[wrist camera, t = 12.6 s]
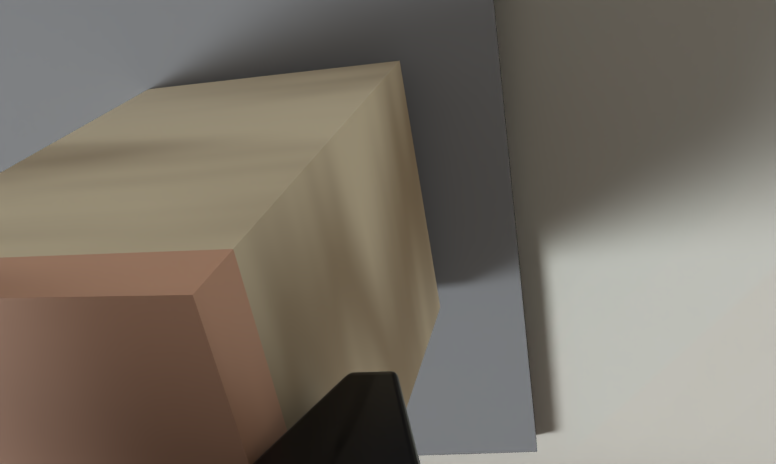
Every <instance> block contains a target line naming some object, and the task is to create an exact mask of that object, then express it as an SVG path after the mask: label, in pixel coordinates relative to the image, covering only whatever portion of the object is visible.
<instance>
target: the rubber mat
mask: <svg viewBox="0 0 776 464" xmlns="http://www.w3.org/2000/svg"><path fill="white" fill-rule="evenodd" d="M392 61H400V66H401V72H402V78H403V84H404V90H405V96H406V102H407V108H408V114H409V120H410V126H411V132H412V139H413V145H414V151H415V157H416V163H417V169H418V175H419V181H420V187H421V193H422V199H423V205H424V211H425V217H426V223H427V229H428V235H429V241H430V247H431V254H432V260H433V266H434V272H435V278H436V284H437V290H438V296H439V302H440V310H439V313H438V316H437V319H436V322H435V325H434V328H433V331H432V333H431V336H430V339H429V342H428V345H427V348H426V351H425V354H424V357H423V360H422V363H421V366H420V369H419V372H418V375H417V378H416V381H415V384H414V387H413V390H412V393H411V396H410V399H409V402H408V405H407V408H406V409H407V413H408V417H409V421H410V425H411V429H412V433H413V437H414V441H415V445H416V449H417V453H418V455H448V454H480V453H512V452H537V442H536V430H535V420H534V410H533V400H532V389H531V379H530V369H529V359H528V348H527V338H526V328H525V318H524V307H523V297H522V287H521V277H520V267H519V256H518V246H517V236H516V226H515V215H514V205H513V195H512V185H511V174H510V164H509V154H508V144H507V133H506V123H505V113H504V103H503V93H502V82H501V72H500V62H499V52H498V41H497V31H496V21H495V11H494V0H0V173H1V172H2V171H4V170H6V169H8V168H10V167H11V166H13V165H15V164H17V163H18V162H20V161H22V160H24V159H25V158H27V157H29V156H31V155H33V154H34V153H36V152H38V151H40V150H41V149H43V148H45V147H47V146H49V145H50V144H52V143H54V142H56V141H57V140H59V139H61V138H63V137H65V136H66V135H68V134H70V133H72V132H73V131H75V130H77V129H79V128H81V127H82V126H84V125H86V124H88V123H89V122H91V121H93V120H95V119H96V118H98V117H100V116H102V115H104V114H105V113H107V112H109V111H111V110H112V109H114V108H116V107H118V106H120V105H121V104H123V103H125V102H127V101H128V100H130V99H132V98H134V97H136V96H137V95H139V94H141V93H143V92H144V91H146V90H148V89H155V88H163V87H172V86H181V85H189V84H198V83H207V82H216V81H225V80H234V79H242V78H251V77H260V76H269V75H278V74H286V73H295V72H304V71H313V70H322V69H331V68H339V67H348V66H357V65H366V64H375V63H384V62H392Z"/></svg>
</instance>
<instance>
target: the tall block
mask: <svg viewBox="0 0 776 464" xmlns="http://www.w3.org/2000/svg"><path fill="white" fill-rule="evenodd" d="M439 310H440V302H439V296H438V290H437V284H436V278H435V272H434V266H433V260H432V254H431V247H430V241H429V235H428V229H427V223H426V217H425V211H424V205H423V199H422V193H421V187H420V181H419V175H418V169H417V163H416V157H415V151H414V145H413V139H412V132H411V126H410V120H409V114H408V108H407V102H406V96H405V90H404V84H403V78H402V72H401V66H400V61H392V62H384V63H375V64H366V65H357V66H348V67H339V68H331V69H322V70H313V71H304V72H295V73H286V74H278V75H269V76H260V77H251V78H242V79H234V80H225V81H216V82H207V83H198V84H189V85H181V86H172V87H163V88H155V89H148V90H146V91H144V92H143V93H141V94H139V95H137V96H136V97H134V98H132V99H130V100H128V101H127V102H125V103H123V104H121V105H120V106H118V107H116V108H114V109H112V110H111V111H109V112H107V113H105V114H104V115H102V116H100V117H98V118H96V119H95V120H93V121H91V122H89V123H88V124H86V125H84V126H82V127H81V128H79V129H77V130H75V131H73V132H72V133H70V134H68V135H66V136H65V137H63V138H61V139H59V140H57V141H56V142H54V143H52V144H50V145H49V146H47V147H45V148H43V149H41V150H40V151H38V152H36V153H34V154H33V155H31V156H29V157H27V158H25V159H24V160H22V161H20V162H18V163H17V164H15V165H13V166H11V167H10V168H8V169H6V170H4V171H2V172H1V173H0V464H253V463H254V462H255V461H256V460H257V459H258V458H259V457H260V456H261V455H262V454H263V453H264V452H265V451H266V450H267V449H269V448H270V447H271V446H272V445H273V444H274V443H275V442H276V441H277V440H278V439H279V438H280V437H281V436H282V435H283V434H284V433H286V432H287V431H288V430H289V429H290V428H291V427H292V426H293V425H294V424H295V423H296V422H297V421H298V420H299V419H300V418H301V417H303V416H304V415H305V414H306V413H307V412H308V411H309V410H310V409H311V408H312V407H313V406H314V405H315V404H316V403H317V402H318V401H320V400H321V399H322V398H323V397H324V396H325V395H326V394H327V393H328V392H329V391H330V390H331V389H332V388H333V387H334V386H335V385H337V384H338V383H339V382H340V381H341V380H342V379H343V378H344V377H345V376H346V375H348V374H349V373H353V372H380V371H393V372H395V373H396V374H397V375H398V378H399V382H400V386H401V390H402V394H403V397H404V401H405V405H406V408H407V405H408V402H409V399H410V396H411V393H412V390H413V387H414V384H415V381H416V378H417V375H418V372H419V369H420V366H421V363H422V360H423V357H424V354H425V351H426V348H427V345H428V342H429V339H430V336H431V333H432V331H433V328H434V325H435V322H436V319H437V316H438V313H439Z"/></svg>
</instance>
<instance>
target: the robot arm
mask: <svg viewBox="0 0 776 464" xmlns="http://www.w3.org/2000/svg"><path fill="white" fill-rule="evenodd" d="M253 464H420V460H419V456H418V453H417V449H416V445H415V441H414V437H413V433H412V429H411V425H410V421H409V417H408V413H407V409H406V405H405V401H404V397H403V394H402V390H401V386H400V382H399V378H398V375H397V374H396V373H395V372H393V371H380V372H353V373H349V374H348V375H346V376H345V377H344V378H343V379H342V380H341V381H340V382H339V383H338V384H337V385H335V386H334V387H333V388H332V389H331V390H330V391H329V392H328V393H327V394H326V395H325V396H324V397H323V398H322V399H321V400H320V401H318V402H317V403H316V404H315V405H314V406H313V407H312V408H311V409H310V410H309V411H308V412H307V413H306V414H305V415H304V416H303V417H301V418H300V419H299V420H298V421H297V422H296V423H295V424H294V425H293V426H292V427H291V428H290V429H289V430H288V431H287V432H286V433H284V434H283V435H282V436H281V437H280V438H279V439H278V440H277V441H276V442H275V443H274V444H273V445H272V446H271V447H270V448H269V449H267V450H266V451H265V452H264V453H263V454H262V455H261V456H260V457H259V458H258V459H257V460H256V461H255V462H254V463H253Z"/></svg>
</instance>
